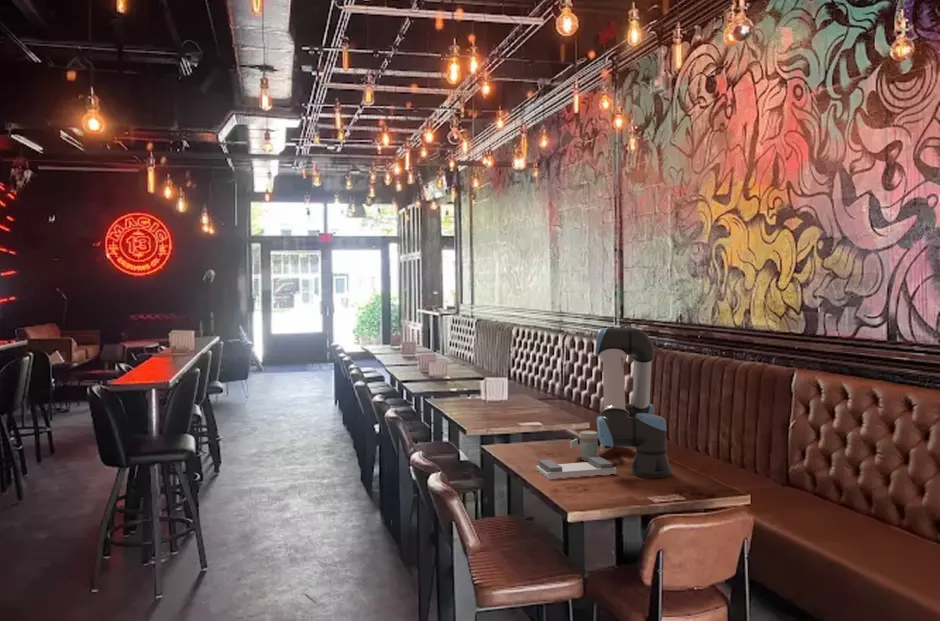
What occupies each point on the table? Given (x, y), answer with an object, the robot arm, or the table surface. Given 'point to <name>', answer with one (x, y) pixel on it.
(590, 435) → the coffee cup
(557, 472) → the rail plate
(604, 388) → the robot arm
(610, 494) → the table surface
